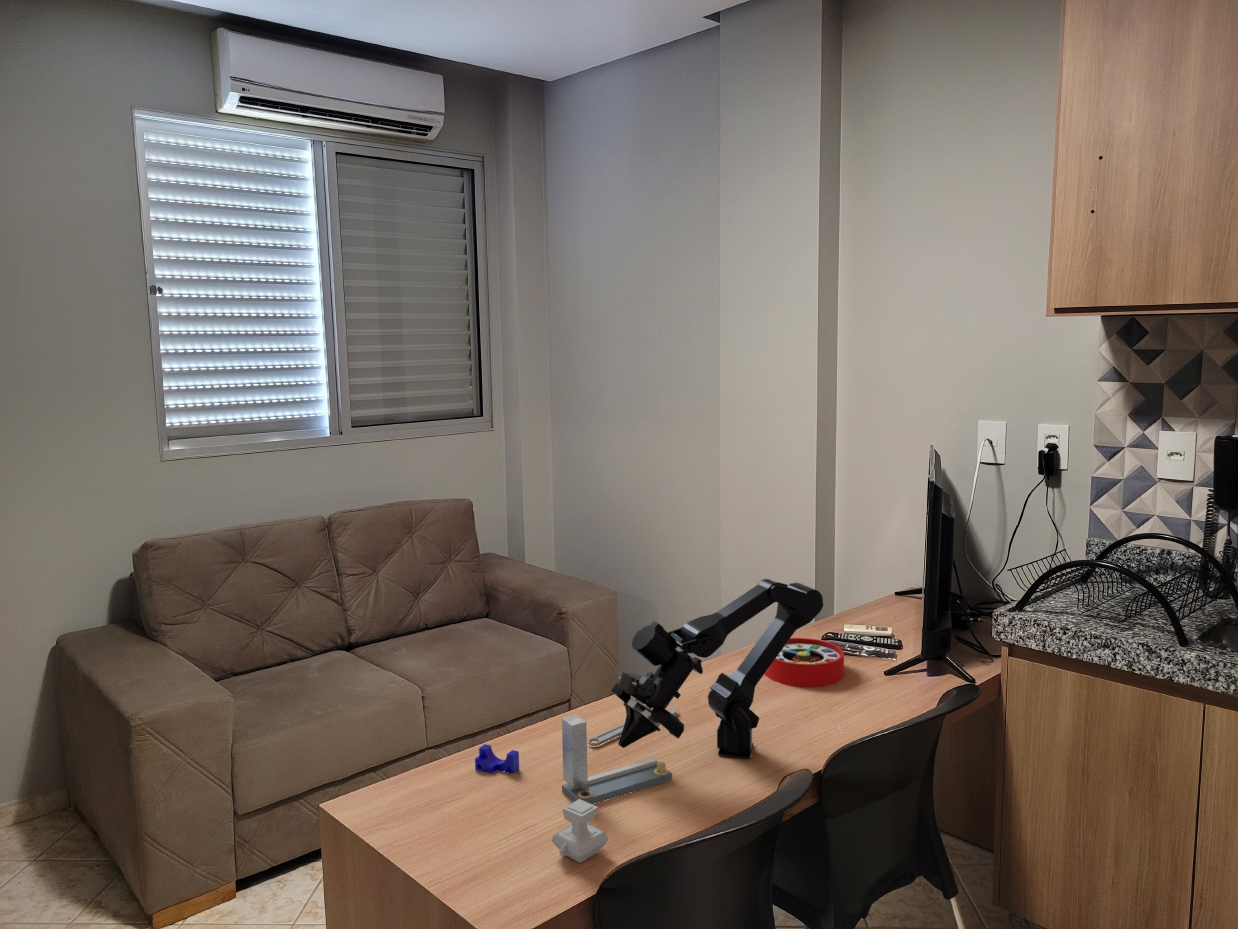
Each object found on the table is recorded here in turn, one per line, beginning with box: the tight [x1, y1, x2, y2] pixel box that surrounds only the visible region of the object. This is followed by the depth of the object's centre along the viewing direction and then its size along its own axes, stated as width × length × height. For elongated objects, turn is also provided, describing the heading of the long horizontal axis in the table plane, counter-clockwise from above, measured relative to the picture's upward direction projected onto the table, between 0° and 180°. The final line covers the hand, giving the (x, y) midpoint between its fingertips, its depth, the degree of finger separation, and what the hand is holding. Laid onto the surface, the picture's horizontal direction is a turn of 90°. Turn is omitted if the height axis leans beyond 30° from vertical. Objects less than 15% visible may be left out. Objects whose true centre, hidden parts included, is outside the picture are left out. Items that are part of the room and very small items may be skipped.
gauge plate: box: [561, 757, 673, 805], centre depth 169 cm, size 20×7×3 cm, turn 120°
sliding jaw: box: [561, 713, 589, 793], centre depth 164 cm, size 3×6×13 cm, turn 30°
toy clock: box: [764, 637, 845, 688], centre depth 225 cm, size 20×6×20 cm
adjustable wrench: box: [587, 706, 677, 746], centre depth 195 cm, size 25×6×2 cm, turn 130°
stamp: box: [551, 799, 609, 864], centre depth 146 cm, size 9×7×8 cm
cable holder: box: [474, 743, 520, 775], centre depth 176 cm, size 8×4×4 cm, turn 64°
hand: (620, 746), depth 170 cm, fingers closed
